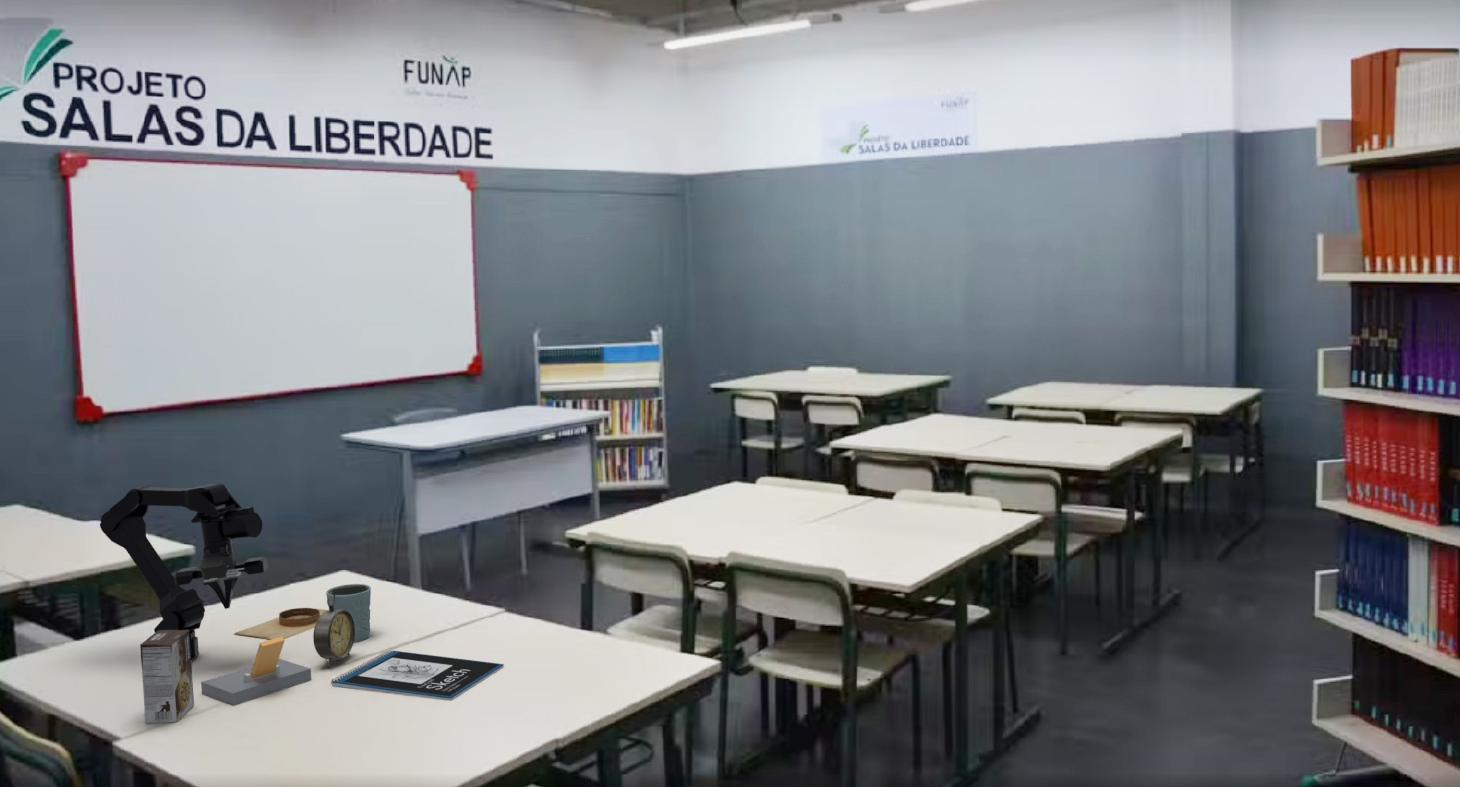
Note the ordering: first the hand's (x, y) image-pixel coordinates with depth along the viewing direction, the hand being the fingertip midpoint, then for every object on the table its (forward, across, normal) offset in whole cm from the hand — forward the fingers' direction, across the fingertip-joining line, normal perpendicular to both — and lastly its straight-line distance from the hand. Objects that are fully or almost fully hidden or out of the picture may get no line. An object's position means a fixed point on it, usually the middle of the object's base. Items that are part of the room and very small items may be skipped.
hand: (227, 608), depth 258 cm
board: (+13, +8, +30) cm, 33 cm away
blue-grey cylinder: (+15, +23, +14) cm, 31 cm away
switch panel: (+14, +8, -17) cm, 23 cm away
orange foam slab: (+12, +9, -18) cm, 24 cm away
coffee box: (+14, -6, -29) cm, 33 cm away
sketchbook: (+19, +41, -18) cm, 48 cm away
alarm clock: (+16, +22, -4) cm, 27 cm away
